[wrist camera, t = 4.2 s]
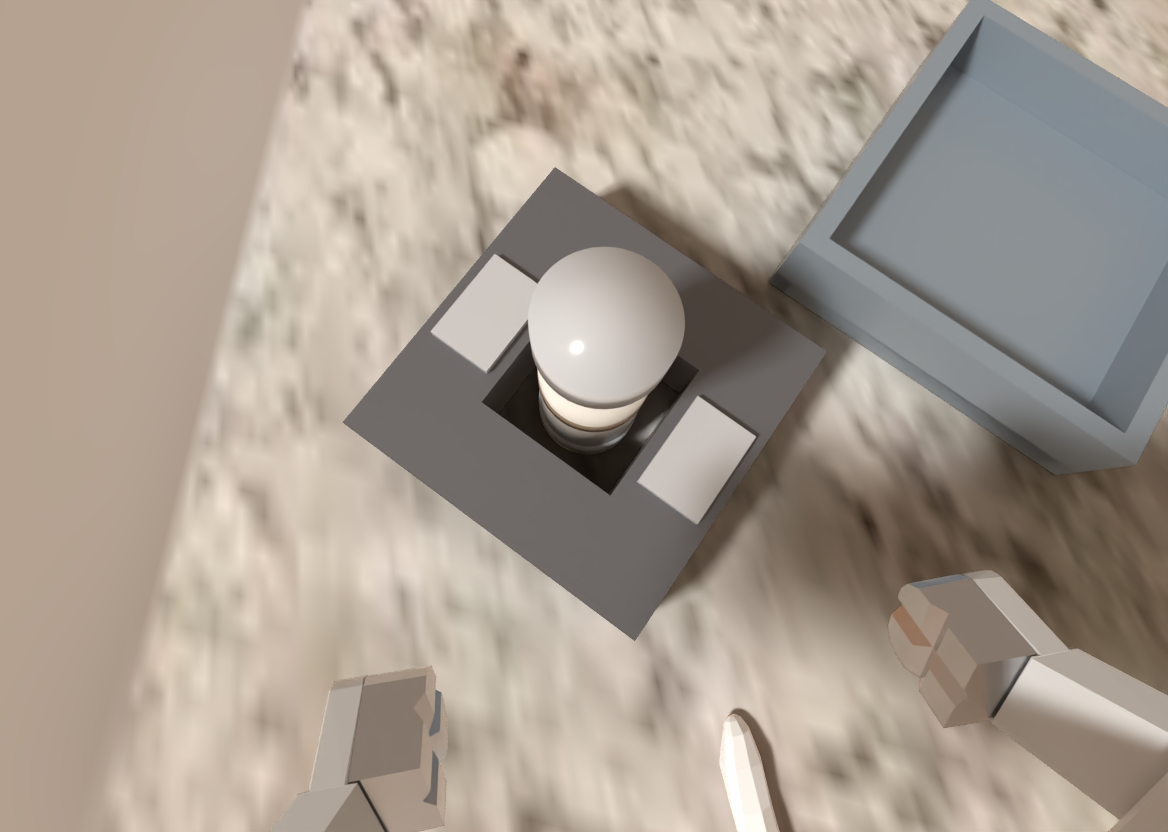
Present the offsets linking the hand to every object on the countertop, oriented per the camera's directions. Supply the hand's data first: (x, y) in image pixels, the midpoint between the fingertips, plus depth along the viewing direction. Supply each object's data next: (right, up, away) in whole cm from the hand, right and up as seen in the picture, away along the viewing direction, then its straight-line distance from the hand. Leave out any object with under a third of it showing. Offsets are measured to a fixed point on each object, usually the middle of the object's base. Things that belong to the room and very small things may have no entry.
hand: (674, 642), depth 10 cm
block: (-1, +4, +14) cm, 15 cm away
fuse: (-1, +4, +14) cm, 15 cm away
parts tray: (+16, +11, +16) cm, 25 cm away
